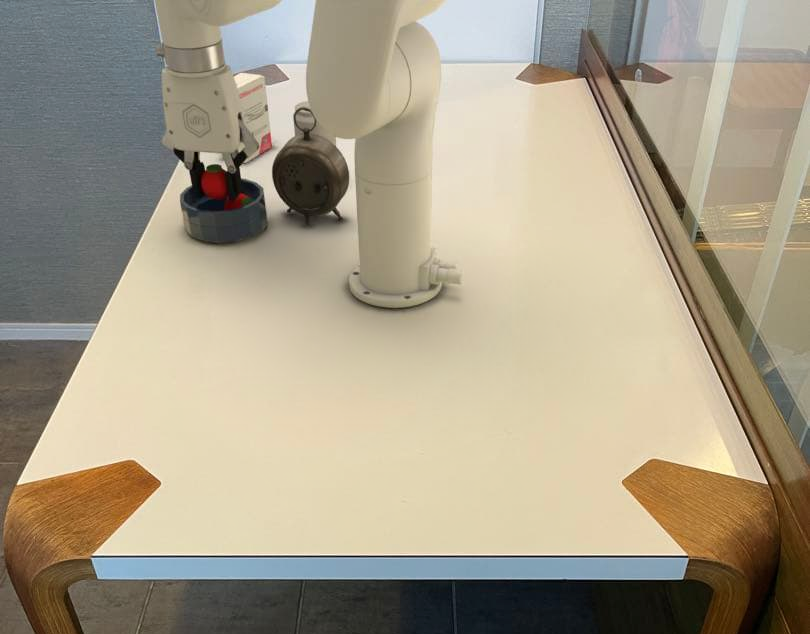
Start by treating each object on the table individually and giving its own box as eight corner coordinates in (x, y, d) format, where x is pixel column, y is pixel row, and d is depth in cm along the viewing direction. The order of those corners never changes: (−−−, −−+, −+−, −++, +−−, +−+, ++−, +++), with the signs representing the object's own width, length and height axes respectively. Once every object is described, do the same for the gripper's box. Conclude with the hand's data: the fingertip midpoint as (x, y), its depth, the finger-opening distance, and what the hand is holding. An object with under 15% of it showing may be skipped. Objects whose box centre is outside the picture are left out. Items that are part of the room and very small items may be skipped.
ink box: (250, 142, 153) (241, 70, 145) (273, 147, 152) (265, 74, 143) (222, 159, 148) (210, 85, 140) (245, 164, 146) (235, 89, 138)
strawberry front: (246, 211, 131) (264, 203, 128) (236, 234, 130) (254, 226, 127) (224, 191, 128) (242, 182, 125) (214, 214, 127) (232, 206, 124)
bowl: (278, 213, 133) (274, 181, 129) (251, 249, 124) (246, 216, 121) (205, 206, 135) (199, 174, 131) (173, 241, 126) (166, 208, 123)
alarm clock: (352, 216, 131) (346, 104, 120) (340, 232, 128) (333, 117, 116) (286, 208, 134) (274, 97, 122) (273, 223, 130) (259, 110, 119)
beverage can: (292, 187, 139) (284, 109, 131) (313, 173, 143) (306, 96, 135) (325, 194, 137) (319, 115, 129) (345, 180, 141) (341, 102, 133)
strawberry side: (238, 193, 126) (234, 162, 123) (227, 206, 123) (222, 174, 120) (210, 191, 127) (205, 159, 123) (199, 203, 123) (193, 172, 120)
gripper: (122, 62, 110) (154, 201, 123) (246, 69, 107) (265, 211, 120) (147, 45, 115) (175, 181, 128) (266, 51, 113) (282, 189, 126)
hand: (218, 194), depth 124 cm, fingers closed on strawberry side, 4 cm apart
